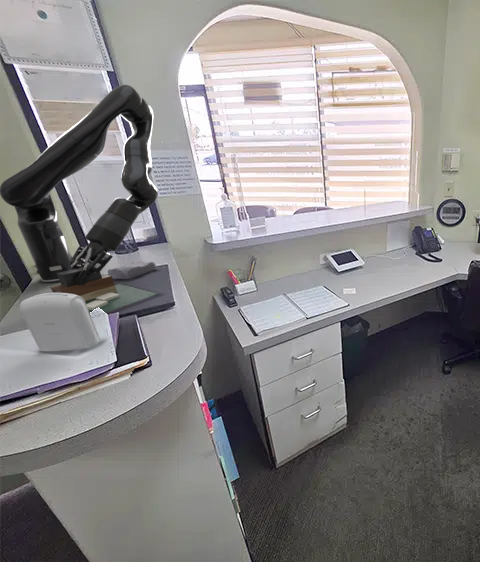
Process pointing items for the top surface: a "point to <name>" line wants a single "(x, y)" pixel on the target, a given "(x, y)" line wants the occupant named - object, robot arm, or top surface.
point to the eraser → (92, 288)
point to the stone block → (132, 270)
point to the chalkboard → (124, 297)
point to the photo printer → (59, 321)
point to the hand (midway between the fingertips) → (73, 282)
